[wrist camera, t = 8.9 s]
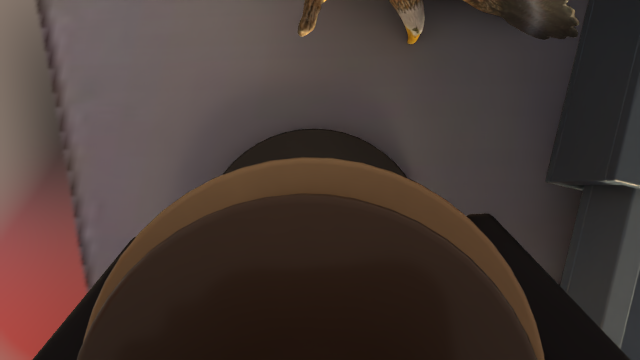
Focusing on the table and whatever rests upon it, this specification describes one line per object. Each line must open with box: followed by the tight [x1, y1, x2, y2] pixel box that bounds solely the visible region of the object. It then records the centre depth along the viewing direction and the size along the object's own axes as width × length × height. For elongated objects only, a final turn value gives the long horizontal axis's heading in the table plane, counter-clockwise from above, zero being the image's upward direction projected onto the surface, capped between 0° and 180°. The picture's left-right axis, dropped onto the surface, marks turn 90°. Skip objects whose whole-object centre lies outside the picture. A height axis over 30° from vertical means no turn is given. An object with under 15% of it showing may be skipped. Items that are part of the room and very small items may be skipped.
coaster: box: [223, 129, 407, 178], centre depth 23 cm, size 9×9×1 cm
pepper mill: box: [77, 157, 545, 360], centre depth 11 cm, size 5×5×13 cm
